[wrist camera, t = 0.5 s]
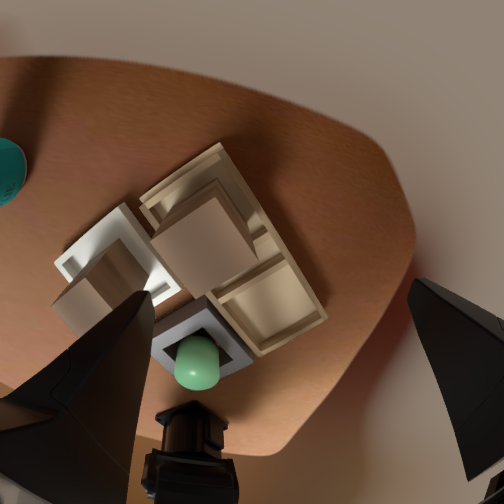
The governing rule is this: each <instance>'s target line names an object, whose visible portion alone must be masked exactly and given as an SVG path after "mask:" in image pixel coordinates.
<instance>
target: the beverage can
mask: <svg viewBox="0 0 504 504" xmlns="http://www.w3.org/2000/svg"><path fill="white" fill-rule="evenodd" d="M26 175H27V161H26V157H25V154H24V152H23V150H22V149H21V147H19V146H18V145H17V144H15V143H14V142H12V141H10V140H8V139H5V138H0V207H1V206H3V205H5V204H7V203H9V202H10V201H11V200H12V199H13V198H14V197H15V196H16V194H17V193H18V192H19V191H20V189H21V188H22V186H23V184H24V182H25V179H26Z"/></svg>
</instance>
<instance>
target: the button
mask: <svg viewBox="0 0 504 504" xmlns="http://www.w3.org/2000/svg"><path fill="white" fill-rule="evenodd" d="M174 376H175V378H176V380H177V381H178V383H179V384H181V385H182V386H184V387H186V388H188V389H192V390H206V389H209V388H211V387H213V386H215V385H216V384H217V382H218V381H219V377H220V374H219V349H218V346H217V345H216V343H215V342H214V341H212V340H211V339H209V338H207V337H204V336H189V337H187V338H185V339H183V340H182V341H181V342H180V343H179V345H178V350H177V356H176V363H175V370H174Z"/></svg>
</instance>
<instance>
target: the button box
mask: <svg viewBox="0 0 504 504" xmlns="http://www.w3.org/2000/svg"><path fill="white" fill-rule="evenodd" d="M202 327H204V329H205V330H206V331H207V332H208V333H209V334H210V335H211V336H212V337H213V338H214V340H215V341H216V342H217V343H218V344H219V345H220V346H221V347H222V348H221V349H219V374H220V377H219V379H221V378H224V377H226V376H228V375H230V374H232V373H234V372H236V371H238V370H240V369H242V368H244V367H246V366H248V365H250V364H252V363H254V357H253V351H252V349H251V348H250V347H249V346H248V345H247V344H246V342H245V341H244V340H243V339H242V338H241V337H240V336H239V334H238V333H237V332H236V331H235V330H234V328H233V327H232V326H231V325H230V324H229V323H228V321H227V320H226V319H225V318H224V317H223V315H222V314H221V313H220V312H219V311H218V309H217V308H216V307H215V306H214V305H213V303H212V302H211V301H210V300H209V298H208V297H207V296H206V295H205V294H204V295H202V296H201V297H199V298H197V299H195V300H193V301H192V302H190V303H188V304H187V305H185V306H183V307H182V308H180V309H178V310H177V311H175V312H173V313H172V314H170V315H168V316H167V317H165V318H163V319H161V320H160V321H158V322H156V323H155V324H154V329H153V338H152V348H151V355H152V356H153V357H154V358H155V359H156V360H157V361H158V362H159V363H160V364H161V365H162V366H163V367H164V368H165V369H166V370H168V371H169V372H170V373H171V374H172V375H173V376H174V370H175V363H176V356H177V350H178V344H177V343H176V342H177V341H178V340H180V339H182V338H184V337H186V336H188V335H189V334H191V333H193V332H195V331H197V330H199V329H200V328H202ZM174 377H175V376H174ZM189 390H190V391H191V392H193V391H195V390H192V389H189Z"/></svg>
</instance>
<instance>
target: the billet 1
mask: <svg viewBox="0 0 504 504" xmlns="http://www.w3.org/2000/svg"><path fill="white" fill-rule="evenodd" d="M148 279H149V275H148V274H147V272H146V271H145V270H144V269H143V268H142V266H141V265H140V264H139V263H138V261H137V260H136V259H135V257H134V256H133V255H132V254H131V252H130V251H129V250H128V248H127V247H126V246H125V245H124V243H123V242H122V241H121V239H120V238H118V239H117V240H116V241H114V242H113V243H112V244H111V245H109V246H108V247H107V248H106V249H104V250H103V251H102V252H101V253H99V254H98V255H97V256H96V257H94V258H93V259H92V260H91V261H90V262H88V263H87V264H86V265H85V267H84V268H83V269H82V270H81V271H80V272H79V273H78V274H77V276H76V277H75V278H74V279H73V280H72V281H71V282H70V284H69V285H68V286H67V287H66V288H65V290H64V291H63V292H62V293H61V294H60V295H59V297H58V298H57V299H56V300H55V302H54V303H53V304H52V305H51V306H50V307H51V308H52V309H53V311H54V312H55V313H56V314H57V315H58V316H59V317H60V319H61V320H62V321H63V322H64V323H65V324H66V325H67V326H68V327H69V329H70V330H71V331H72V332H73V333H74V334H75V335H76V336H77V337H78V338H80V337H81V336H82V335H84V334H85V333H86V332H87V331H88V330H89V329H91V328H92V327H93V326H94V325H95V324H97V323H98V322H99V321H100V320H101V319H103V318H104V317H105V316H106V315H107V314H109V313H110V312H111V311H112V310H113V309H115V308H116V307H117V306H118V305H119V304H121V303H122V302H123V301H124V300H126V299H127V298H128V297H129V296H130V295H132V294H133V293H134V292H135V291H137V290H144V287H145V285H146V283H147V281H148Z"/></svg>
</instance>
